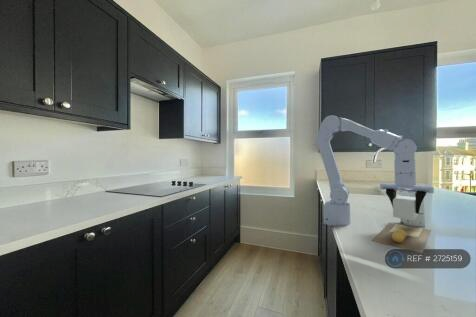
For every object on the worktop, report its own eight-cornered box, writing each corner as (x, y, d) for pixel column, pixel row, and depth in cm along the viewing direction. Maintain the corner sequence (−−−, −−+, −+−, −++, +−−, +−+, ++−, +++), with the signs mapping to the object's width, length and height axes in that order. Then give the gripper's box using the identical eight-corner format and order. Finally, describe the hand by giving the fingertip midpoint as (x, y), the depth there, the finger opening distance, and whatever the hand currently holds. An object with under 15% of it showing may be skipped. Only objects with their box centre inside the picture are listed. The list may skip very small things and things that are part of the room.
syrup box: (425, 227, 77) (424, 189, 77) (408, 226, 79) (407, 189, 78) (416, 222, 83) (415, 186, 83) (399, 221, 84) (398, 186, 84)
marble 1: (393, 238, 65) (393, 229, 65) (395, 236, 67) (395, 227, 67) (405, 241, 63) (405, 231, 63) (407, 238, 65) (407, 229, 65)
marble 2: (390, 242, 63) (390, 232, 63) (393, 239, 65) (392, 230, 65) (403, 245, 61) (403, 235, 60) (405, 242, 63) (404, 232, 63)
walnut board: (371, 243, 64) (371, 240, 64) (389, 225, 80) (389, 222, 80) (422, 256, 55) (422, 252, 55) (431, 232, 72) (431, 229, 72)
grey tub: (393, 216, 71) (392, 199, 71) (398, 211, 77) (398, 195, 77) (414, 220, 67) (413, 202, 67) (418, 214, 73) (417, 197, 73)
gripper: (377, 173, 75) (378, 210, 75) (431, 174, 64) (433, 217, 64) (382, 171, 79) (383, 206, 79) (433, 173, 69) (435, 213, 69)
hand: (405, 211), depth 72 cm, fingers closed on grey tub, 6 cm apart
